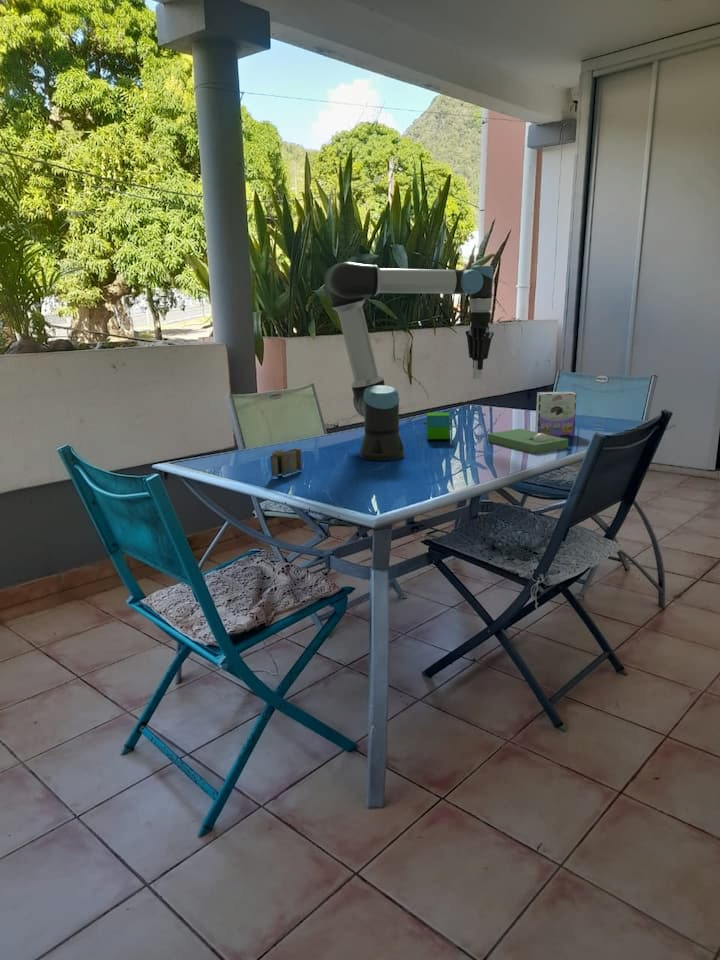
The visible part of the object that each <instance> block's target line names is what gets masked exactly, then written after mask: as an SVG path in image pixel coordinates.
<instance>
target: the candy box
mask: <svg viewBox="0 0 720 960" xmlns="http://www.w3.org/2000/svg"><path fill="white" fill-rule="evenodd" d="M535 407H536V409H535V410H536V411H535V412H536V413H535V427H534V428H535V429H534V430H535V431H534V432H537V433H543V434H546V435H551V436H555V437H574V436H575V429H576V428H575V427H576V412H577V411H576V410H577V408H576V407H577V393H576V392H574V391H537V392H536V406H535Z"/></svg>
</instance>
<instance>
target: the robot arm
mask: <svg viewBox="0 0 720 960" xmlns="http://www.w3.org/2000/svg"><path fill="white" fill-rule="evenodd" d="M323 281H324V282H323V283H324V290H325V292H326V293H327V295H328V297H329V301H330V304H331V305H330V306H331V308H332V309H333V310H334V311H336V312H337V314H338V318H339V322H340V327H341V330H342V334H343V339H344V343H345V347H346V351H347V355H348V359H349V364H350V368H351V371H352V375H353V379H354V381H353V382H352V384H351V389H352V390H351V391H352V394H353V397H352V399H353V400H352V402H353V406H354V408H355V410H356V412H357V413H358V414H359V415H360V416H361V417H363V418H364V436H363V439H362V442H361V446H360V450H359V457H360V458H361V459H362V458H363V460H365V459H367V461H371V460H375V461H374V462H387V461H386V460H391V461H396V460H395V459H397V460H400V458H401V459H403V458H404V457H405V449H404V445H403V442H402V438H401V437H400V422H399V421H400V396H399V395H400V394H399V391H398V389H397V388H395V387H394V386H389V385H386V384H385V379H384V377H383V376H381V375H379V372H378V369H377V364H376V363H377V362H376V360H375V356H374V352H373V351H374V350H373V347H372V343H371V342H372V341H371V338H370V334H369V330H368V324H367V321H366V316H365V312H364V307H363V305H364V304H365V302H366V298H365V297H376V296H377V295H378V294H442V295H469V296H470V297H469V311H471V312H469V321H468V322H469V323H470V324H471V325H470V328H469V330H466V331H465V334H466V339H467V348H468V357H469V358H470V359H472V370H473V371H472V372H473V373H472V379H473V380H474V379H475V380H479V379H482V376H483V373H482V372H483V369H484V367H483V366H484V360H487V359H488V358H489V357H488V356H489V352H490V347H491V343H492V340H493V339H492V338H493V336H494V331H491V330H490V327H489V324H490V323H491V319H492V313H491V312H490V311H491V310H492V298H493V286H494V285H493V284H494V283H493V282H494V269H493V267H492V266H491V265H473V266H471V269H470V268H469V269H439V268H438V269H437V268H436V269H435V268H434V269H433V268H431V269H430V268H429V269H428V268H426V269H425V268H389V267H388V268H385V267H383V268H381V267H379V266H378V265H377V264H366V263H365V264H364V263H360V262H353V261H344V262H339V263H338V262H337V263H336V264H334V265H332V266H330V268H328V270H327V272H326V273H325V276H324V279H323ZM402 457H403V458H402Z"/></svg>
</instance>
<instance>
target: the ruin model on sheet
mask: <svg viewBox="0 0 720 960" xmlns="http://www.w3.org/2000/svg"><path fill="white" fill-rule="evenodd" d="M269 457H270V471H271V473H270V474H271V477H272V476H276V477H279V475H278V474H281V473H282V475H286V474H289V473H293V472H296V471H297V469H298V470H302V471H303V463H302V462H303V461H302V460H303V459H302V449H300V448H291V449H289V450H286V451H283V448H281V449H280V450H275V451H274V452H271V455H270V456H269ZM279 478H280V477H279Z"/></svg>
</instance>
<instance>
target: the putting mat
mask: <svg viewBox="0 0 720 960" xmlns="http://www.w3.org/2000/svg"><path fill="white" fill-rule="evenodd" d="M536 434H538V433H537V432H535V431H533V430H527V429H523V428H515V429H510V430H502V431H497V432H490V433H487V440H486V441H487V443H491V444H494V443H495V445H498V444H499V446H503V447H507V448H510V449H515V450H517V449H518V450H517V451H521V450H522V452H525V451H526V453H529V452H530V453H529V454H533V453H536V454H541V453H540V452H542V453H547V452H551V451H557V450H562V449H568V446H569V439H568V438H563V437H561V436H551V435H546V434H545V435H546V436H547V437H548V441H533V439H534V436H535V435H536ZM546 451H547V452H546Z"/></svg>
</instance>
